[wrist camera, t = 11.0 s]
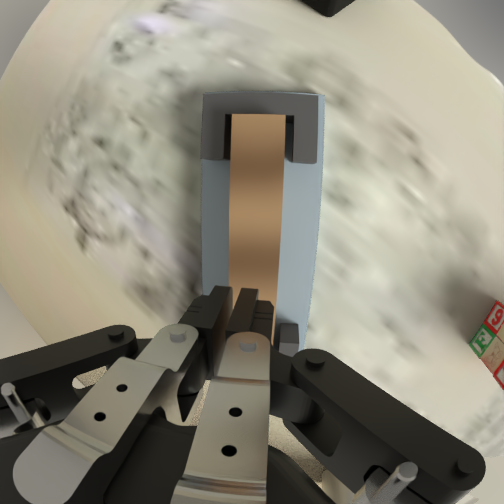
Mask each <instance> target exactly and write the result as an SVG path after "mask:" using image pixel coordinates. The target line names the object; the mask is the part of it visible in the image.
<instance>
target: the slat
mask: <svg viewBox="0 0 504 504" xmlns="http://www.w3.org/2000/svg"><path fill="white" fill-rule="evenodd" d="M285 121H286V115H276V114H232V129H231V160H230V201H229V287H232V288H233V309H234V306H235V303H236V301H237V298H238V295H239V293H240V290H241V288H254V289H259V297H258V300H266V301H270V302H271V303H272V305H273V306H274V316H273V328H272V340H271V344H272V346H273V340H274V328H275V315H276V302H277V288H278V274H279V258H280V242H281V224H282V204H283V182H284V157H285Z"/></svg>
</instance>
